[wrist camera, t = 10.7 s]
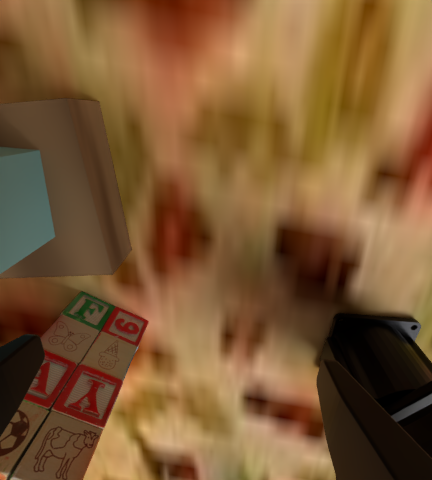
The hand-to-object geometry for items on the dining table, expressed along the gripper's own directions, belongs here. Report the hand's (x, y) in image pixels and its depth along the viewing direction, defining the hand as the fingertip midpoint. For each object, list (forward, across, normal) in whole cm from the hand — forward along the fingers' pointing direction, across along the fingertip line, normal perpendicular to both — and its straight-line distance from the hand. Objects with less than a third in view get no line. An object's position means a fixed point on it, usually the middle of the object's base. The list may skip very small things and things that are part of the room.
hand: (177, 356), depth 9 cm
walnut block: (+12, +11, -2) cm, 17 cm away
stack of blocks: (+12, +12, +17) cm, 24 cm away
